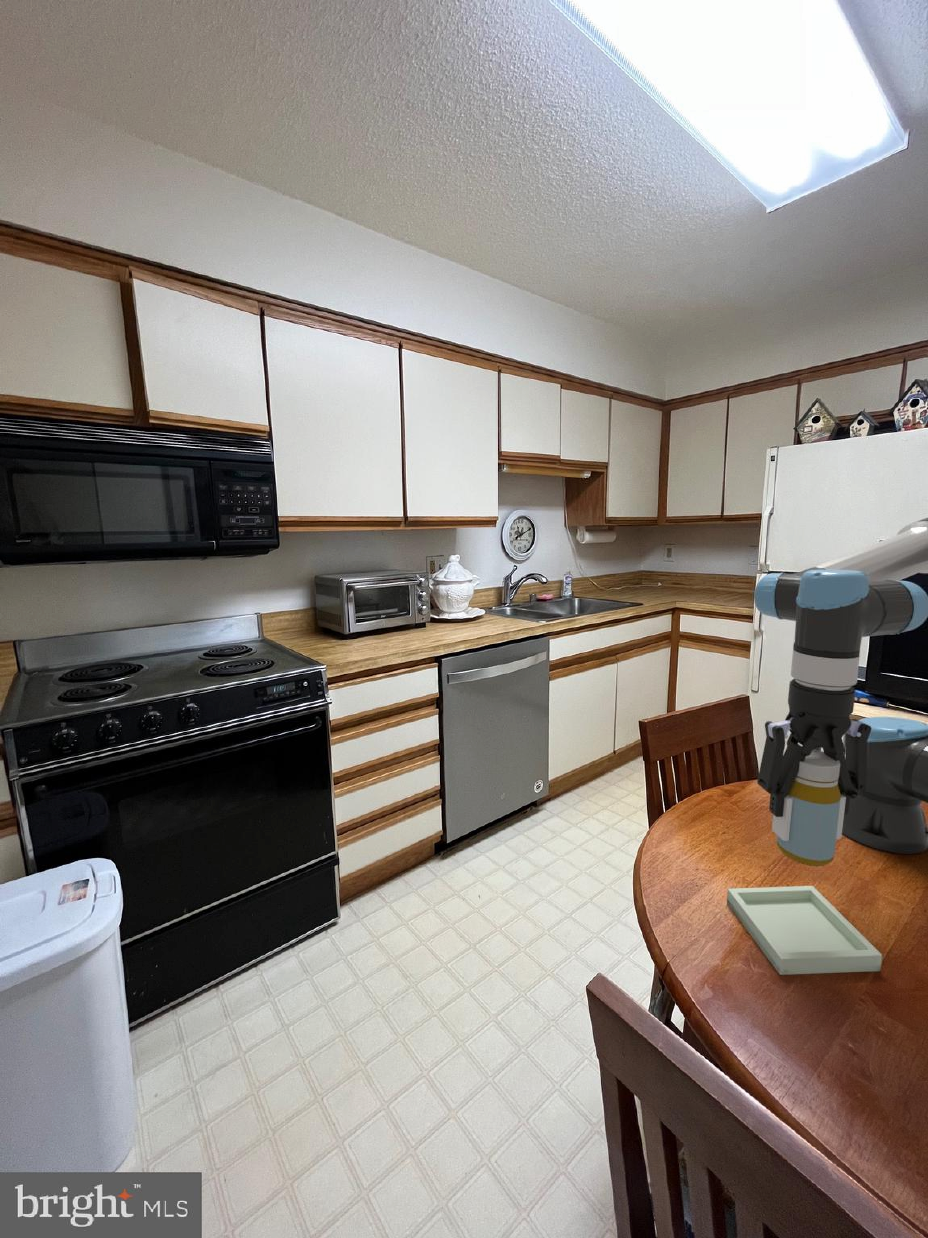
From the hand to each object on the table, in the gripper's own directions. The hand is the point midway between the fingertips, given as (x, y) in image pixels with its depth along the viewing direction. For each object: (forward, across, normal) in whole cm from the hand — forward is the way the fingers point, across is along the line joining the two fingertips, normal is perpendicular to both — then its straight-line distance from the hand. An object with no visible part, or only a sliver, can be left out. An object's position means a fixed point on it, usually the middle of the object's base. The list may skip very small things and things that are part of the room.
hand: (805, 834), depth 75 cm
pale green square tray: (+16, 0, 0) cm, 16 cm away
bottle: (+3, 0, 0) cm, 3 cm away
